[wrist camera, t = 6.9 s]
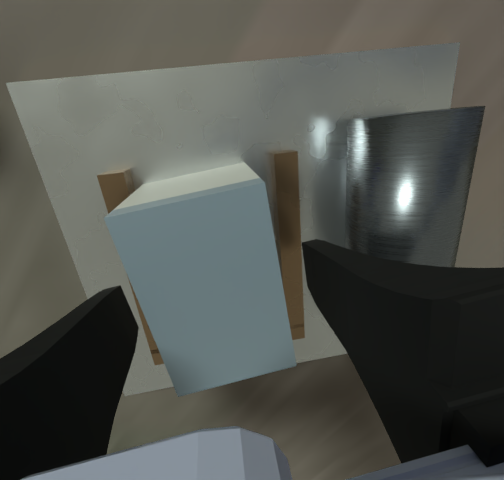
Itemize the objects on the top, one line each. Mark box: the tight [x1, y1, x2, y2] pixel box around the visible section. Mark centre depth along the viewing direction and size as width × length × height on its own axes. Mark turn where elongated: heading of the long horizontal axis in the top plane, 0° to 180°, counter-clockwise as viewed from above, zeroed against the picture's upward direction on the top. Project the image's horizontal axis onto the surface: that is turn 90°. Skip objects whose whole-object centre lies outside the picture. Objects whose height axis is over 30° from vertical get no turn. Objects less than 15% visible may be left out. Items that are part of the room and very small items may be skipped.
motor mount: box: [6, 42, 485, 396], centre depth 13 cm, size 18×16×5 cm
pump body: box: [104, 162, 297, 397], centre depth 11 cm, size 4×7×5 cm, turn 11°
